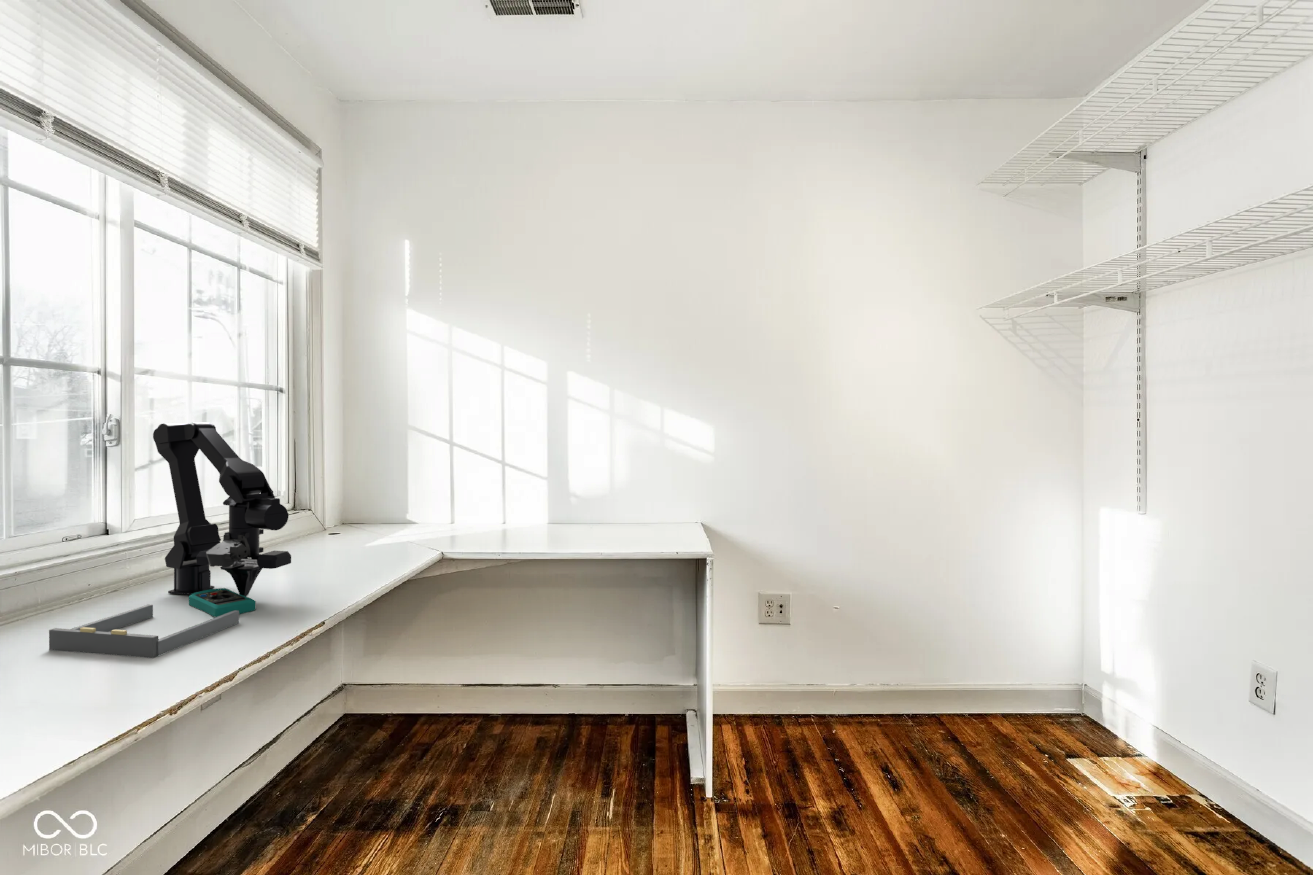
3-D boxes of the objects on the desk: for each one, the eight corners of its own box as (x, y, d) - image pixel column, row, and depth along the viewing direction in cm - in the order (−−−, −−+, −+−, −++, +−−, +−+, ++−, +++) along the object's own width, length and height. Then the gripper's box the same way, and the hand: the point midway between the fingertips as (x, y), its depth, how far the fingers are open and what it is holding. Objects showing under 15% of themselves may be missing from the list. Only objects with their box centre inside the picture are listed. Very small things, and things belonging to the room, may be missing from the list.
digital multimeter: (226, 599, 149) (226, 585, 149) (256, 612, 140) (256, 598, 140) (186, 606, 143) (186, 592, 143) (216, 620, 134) (216, 605, 134)
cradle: (49, 649, 115) (49, 626, 115) (148, 616, 134) (148, 596, 134) (153, 657, 112) (153, 634, 112) (239, 622, 132) (239, 602, 132)
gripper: (175, 530, 139) (175, 604, 139) (257, 534, 137) (257, 609, 137) (216, 522, 150) (216, 590, 150) (293, 525, 148) (292, 595, 148)
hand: (244, 596), depth 146 cm, fingers closed
